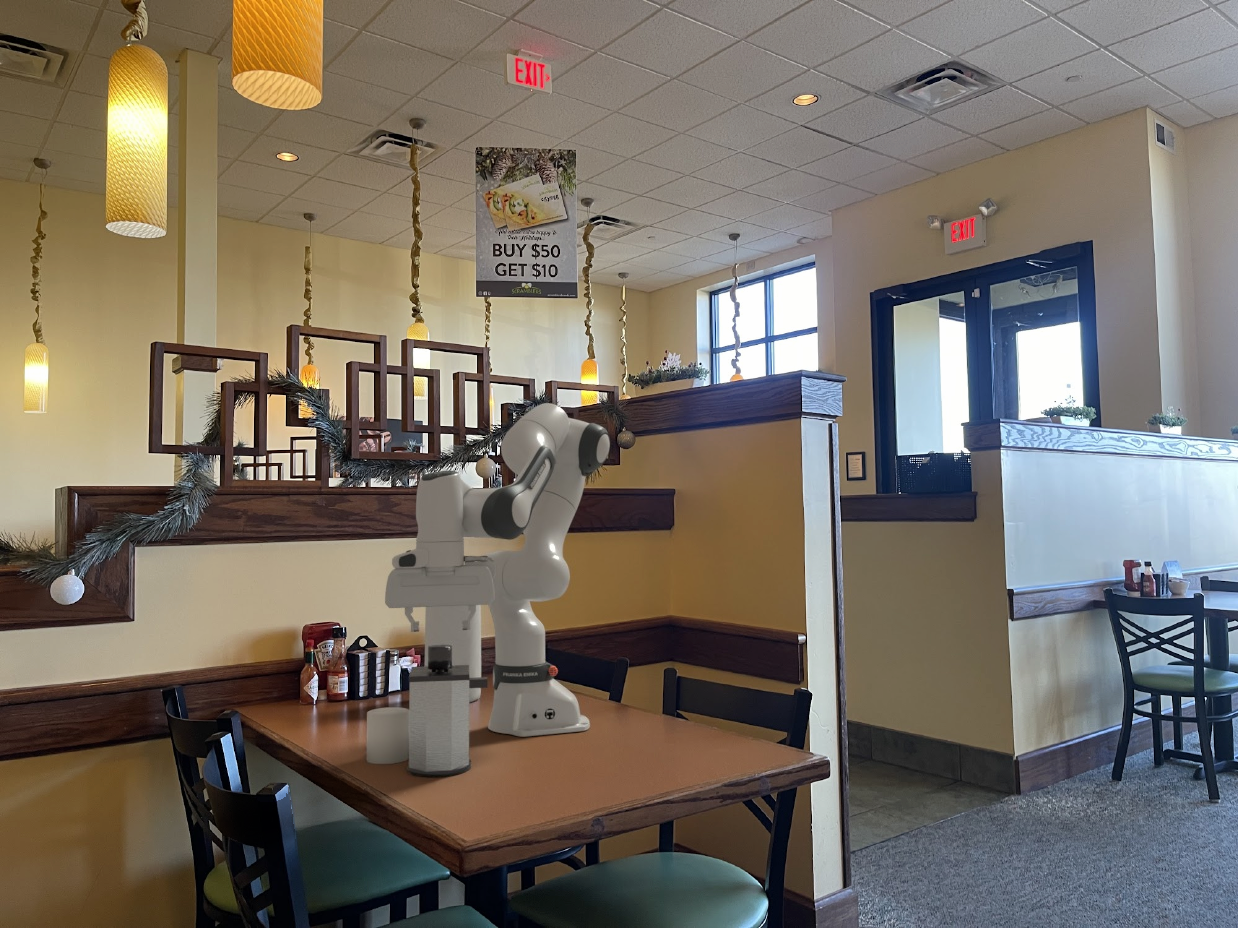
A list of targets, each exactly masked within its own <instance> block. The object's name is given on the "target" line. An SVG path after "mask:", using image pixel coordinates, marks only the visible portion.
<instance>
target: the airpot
mask: <svg viewBox="0 0 1238 928" xmlns="http://www.w3.org/2000/svg"><path fill="white" fill-rule="evenodd" d="M409 671H410V672H409V676H408V683H409V697H408V698H409V701H408V702H409V703H408V704H409V707H408V709H409V759H408V763H407V766H406V767H407V770H406V771H407V773H408V774H410V775H412V776H415V777H418V778H419V777H420V778H444V777H446V778H447V777H452V776H458V775H461V774H464V773H466V772H468V771H469V770H470V769H471V768H472V761H471V759H470V702H469V688H481V689H485V688H489V686H488V676H484V677H483V676H481V677H478V678H469V665H454V666H452V668H450V669H445V670H444V672H436V670H430V669H428V666H425V665H424V666H412V667H411V668H410V670H409Z"/></svg>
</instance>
